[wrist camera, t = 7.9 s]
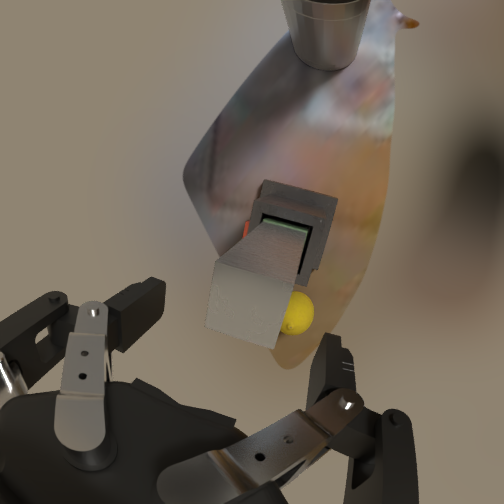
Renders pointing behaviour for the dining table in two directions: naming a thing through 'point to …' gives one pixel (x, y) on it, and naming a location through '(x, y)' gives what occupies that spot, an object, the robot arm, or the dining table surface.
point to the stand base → (297, 219)
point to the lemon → (297, 314)
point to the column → (256, 282)
